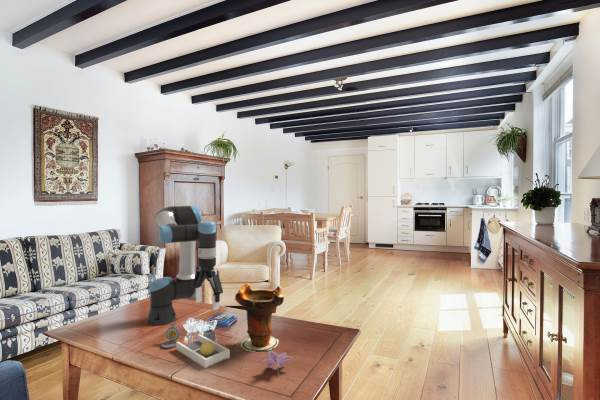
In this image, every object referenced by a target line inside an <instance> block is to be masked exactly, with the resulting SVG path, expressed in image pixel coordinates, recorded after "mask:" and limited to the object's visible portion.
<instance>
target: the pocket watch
mask: <svg viewBox="0 0 600 400" xmlns="http://www.w3.org/2000/svg"><path fill="white" fill-rule="evenodd" d="M169 324H170V327H169V328H167V329H166V332H165V336H166V338H167V339H168V340H167V341H164V342H163V343H162V344H161V348H164V349H172V348H174V347H176V342H177V340H178V339H179V338H180V334H181V332H180V330H179V328H178V327H176V326H175V325H176V324H177V323H176V322H174V323H173V322H170V323H169Z"/></svg>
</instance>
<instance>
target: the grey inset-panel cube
mask: <svg viewBox="0 0 600 400" xmlns="http://www.w3.org/2000/svg"><path fill="white" fill-rule="evenodd" d="M203 336H204V337H206V338H208V339H210V340H212V341H216V330H213V329H211V328H210V329H207V330H205V331H203Z"/></svg>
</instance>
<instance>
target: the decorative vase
mask: <svg viewBox="0 0 600 400" xmlns="http://www.w3.org/2000/svg"><path fill="white" fill-rule="evenodd" d="M234 298H235V299H234V300H235V301H236V303H238V304H239V306H241V307H243V309H244V310H245V311H246V320H247V321H246V322H247V323H246V324H247V330H246V334H248V337H247V338H244V340H243V341H242V342H241V344H240V346H241V348H243V350H245V351H247V352H251V353H252V352H253V353H255V352H257V351H260V352H261V351H262V352H264V351H272V349H275V348H276V347H278V344H279V342H280V340H279V339H278V338H275V337H274V336H272V333H273V330H272V316H273V312H274V310H275V309H276V308H277V307H279V306H281V305H282V304H283V303H284V300H285V296H284V294H283V292H282V286H281V285H277V287H276V288H275V289H267V288H252V287H251V285H250V283H248V282H246V283H243V284H242V286H241V288H240V289H238V292H236V293H235V296H234Z"/></svg>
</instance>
